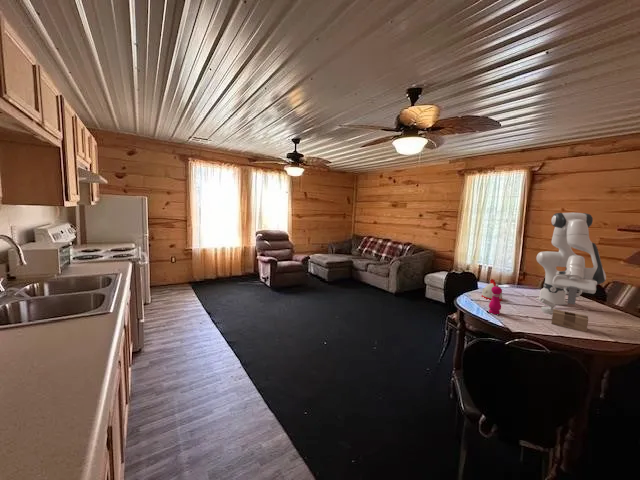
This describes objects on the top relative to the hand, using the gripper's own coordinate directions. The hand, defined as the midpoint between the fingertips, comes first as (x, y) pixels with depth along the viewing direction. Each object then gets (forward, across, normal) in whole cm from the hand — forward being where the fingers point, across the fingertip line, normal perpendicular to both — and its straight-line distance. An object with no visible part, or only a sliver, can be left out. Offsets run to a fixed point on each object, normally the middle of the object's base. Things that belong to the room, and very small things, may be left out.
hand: (572, 295), depth 171 cm
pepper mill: (+20, +38, -8) cm, 43 cm away
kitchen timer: (-6, +46, -33) cm, 57 cm away
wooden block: (+13, 0, -14) cm, 19 cm away
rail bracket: (+3, 0, -4) cm, 5 cm away
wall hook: (-1, +11, -29) cm, 31 cm away
